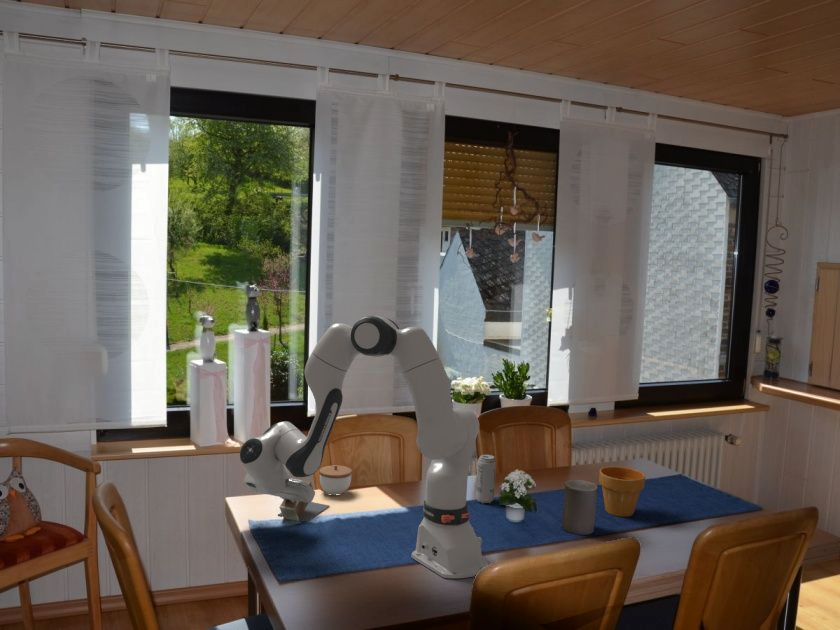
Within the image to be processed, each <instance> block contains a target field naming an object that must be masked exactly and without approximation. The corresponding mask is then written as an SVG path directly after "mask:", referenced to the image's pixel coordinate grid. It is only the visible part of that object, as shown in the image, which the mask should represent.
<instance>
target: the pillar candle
mask: <svg viewBox="0 0 840 630" xmlns="http://www.w3.org/2000/svg"><path fill="white" fill-rule="evenodd" d="M563 490H564V493H563V507H562V518H561V528H562V530H564V531H566V532H567V533H570V534H574V535H581V536H582V535H590V534H592V533H594V530H595V519H596V505H597V497H598V495H597V494H598V485H596V484H595V483H594V482H590V481H588V480H582V479H570V480H567V481H565V483H564V489H563Z"/></svg>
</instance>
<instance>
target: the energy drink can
mask: <svg viewBox="0 0 840 630" xmlns="http://www.w3.org/2000/svg"><path fill="white" fill-rule="evenodd" d="M476 464H477V467H476V468H477V469H476V485H475V487H476V488H475V499H476V501H477V502H478V503H479V502H481V503H480V504H484V503H489V504H491V502H492V503H493V501H494V500H495V486H496V485H495V484H496V466H497V462H496V460H495V456H494V455H492V454H481V455H479V458H478V459H477V463H476Z"/></svg>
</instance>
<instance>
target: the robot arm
mask: <svg viewBox="0 0 840 630" xmlns="http://www.w3.org/2000/svg"><path fill="white" fill-rule="evenodd" d="M360 354H361V355H364V356H367V357H375V358H376V357H378V358H379V357H384V356H389V355H390V356H392V357H393V358H394V359H395V361H396V362H397V365H398V366H399V369H400V370H401V372H400V373H401V374H402V377H403V380H404V381H405V383H406V387H407V388H408V392H409V394H410V395H411V399H412V403H413V406H414V411H415V417H416V423H417V424H416V425H417V434H416V438H415V439H416V446H417V448H418V451H419V452H420V453H421V455H423V456H424V457H425V458H427V459H429V460H431V461H430V465H429V466H428V469H427V471H426V480H425V483H426V484H425V499H424V501H423V505H422V506H423V507H422V515H423V519H422V520H421V522H420V524H419V525H418V529H417V536H416V537H417V538H416V542H415V550H413V551H412V552H411V556H410V557H411V558H412V559H413V560H415V561H416V562H418V563H419V564H421V565H422V566H424V567H426V568H428V569H429V570H430V571H432V572H434V573H435V574H437V575H439V577H442V578H444V579H465V578H466V579H467V578H471V577H476V576H475V575H476V574H477V573H478V572H479V571H480V570H481V569H482V568H483V567H485V566H487V565H488V564H489V563H488V562H487V561H486V559H485V558H484V556H482V545H483V539H482V537H481V536H477V534H476V532H475V528H474V527H473V526H472V524H471V523H470V517H471V516H470V515H471V513H470V512H469V511H470V510H469V507H468V503H467V496H468V495H467V493H468V492H467V491H468V478H469V472H470V466H471V463H472V458H473V455H474V449H475V444H476V443H475V442H476V439H477V436H478V434H479V430H480V421H479V419H478V417H477V415H476V413H474V412H473V411H472V410H470V409H468V408H463V407H457V408H456V407H455V408H454V407H453V402H452V396H451V395H452V394H451V390H452V384H451V381H450V379H449V376H448V374H447V372H446V369H445V367H444V365H443V362H442V360H441V357H440V355H439V353H438V351H437V349H436V347H435V344H434V343H433V342H432V340H431V339H430V336H429V335H428V334H427V331H425V330H424V329H423V328H422V327H419V326H408V327H406V328H402V329H400V327H399V326H398V325H397V323H396V322H394V321H393V320H391V319H390V318H386V317H383V316H380V315H367V316H364V317H363V316H362V317H361V318H360V319H358V320H357V321H356V322H354V324H353V325H352V326H351V325H349V324H347V323H342V322H337V323H336V322H335V323H333V324H331V325H330V326H329V328H328V329H327V330H326V331H325V332H324V333H323V335H322V336H321V337H320V339H319V341H318V342H317V344H316V345H315V346H314V348H313V350H312V352H311V353H310V355H309V357H308V358H307V361H306V364H305V365H304V366H305V367H304V372H303V373H304V378H305V381H306V384H307V386H308V387H309V390H310V391H311V393H312V396H313V399H314V401H315V407H316V411H315V416H314V417H313V420H312V423H311V426H310V429H309V431H308V433H307V436H306V435H305V434H304V433H303V432H302V431H301V430H300V429H299V428H298V427H296V426H295V425H294V424H293V423H292V422H290V421H288V420H284V421H282V420H281V421H279V422H276V423H274V424H272V425H270V427H268V428H267V429H265V431H264V432H263V433H262V435H260V436H255V437H252V438H249V439H247V440H246V441H245V442H244V443H243V444H242V445H241V448H240V450H239V460H240V463H241V464H242V465H241V466H242V467H243V468H244V470H245V471H246V475H245V477H244V480H243V483H244V485H245V486H247V487H248V488H249V489H250V490H251V491H253V492H255V493H259V494H265V495H268V496H269V495H270V496H273V497H279V498H280V499H283V500H284V501H288V502H292V503H294V502H295V500H297V501H301V502H306V503H311V502H313V500H314V497H315V495H316V491H315V489H314V488H313V489H312V487H313V486H312V487H311V486H310V485H309V484H307V483H306V482H304V481H305V480H303V481H301V480H302V479H298V478H307V477H310V476H312V475H314V474H315V473H316V472H318V471H319V470H320V467H321V465H322V462H323V459H324V455H325V449H326V447H327V444H328V441H329V439H330V436H331V433H332V431H333V428H334V426H335V424H336V420H337V418H338V415H339V412H340V409H341V406H342V404H343V398H344V397H343V393H342V392H343V391H342V390H343V389H342V388H343V384H344V380H345V377H346V375H347V373H348V371H349V369H350V366H351V365H352V363H353V362H354V360H355V358H356V357H357V356H359V355H360ZM290 474H291V475H292V476H293V477H295V478H292V477H290V476H291V475H290ZM296 478H297V479H296Z"/></svg>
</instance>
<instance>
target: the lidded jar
mask: <svg viewBox="0 0 840 630" xmlns="http://www.w3.org/2000/svg"><path fill="white" fill-rule="evenodd" d="M318 471H319V484H320V487H321V489H322V490H323V492H324V493H325V494H326V493H327V494H331V495H336V494H342V493H344V494H345V493H346V492H347V490H348V489H349V488H350V486H351V481H352V474H353V470H352V469H351V468H350V467H348V466H345V465H337V464H334V465H326V466H323V467H321V468H319V469H318ZM327 494H326V495H327ZM331 495H330V496H331Z"/></svg>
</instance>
